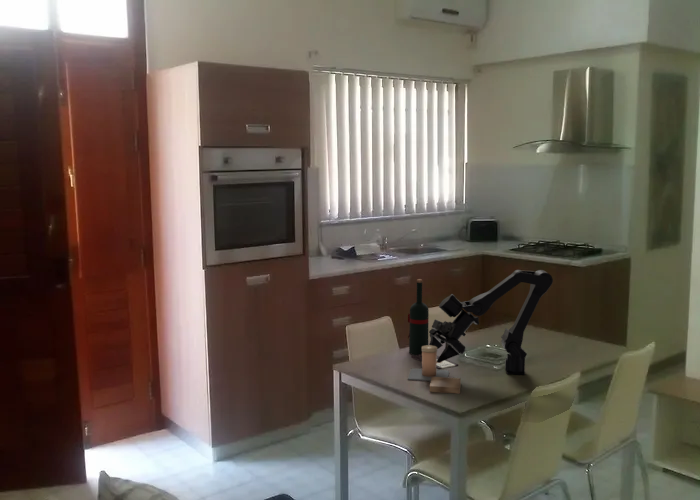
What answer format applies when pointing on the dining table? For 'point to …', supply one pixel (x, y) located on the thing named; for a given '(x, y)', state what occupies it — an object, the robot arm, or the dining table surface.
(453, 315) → the robot arm
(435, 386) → the plate
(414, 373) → the mat
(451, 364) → the chocolate bar
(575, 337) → the dining table surface
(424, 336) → the wine bottle
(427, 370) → the tan cylindrical piece
